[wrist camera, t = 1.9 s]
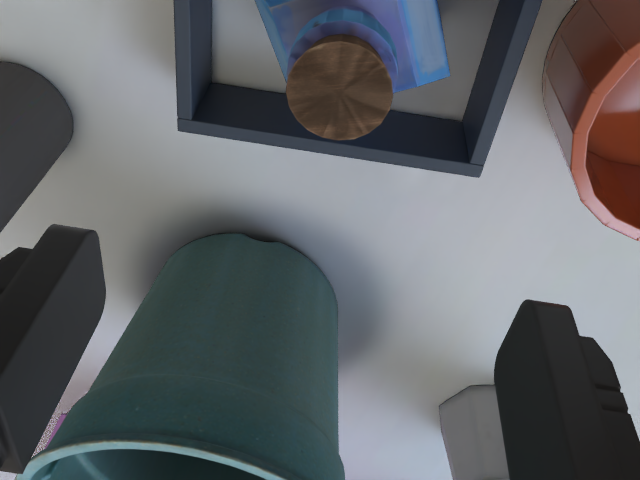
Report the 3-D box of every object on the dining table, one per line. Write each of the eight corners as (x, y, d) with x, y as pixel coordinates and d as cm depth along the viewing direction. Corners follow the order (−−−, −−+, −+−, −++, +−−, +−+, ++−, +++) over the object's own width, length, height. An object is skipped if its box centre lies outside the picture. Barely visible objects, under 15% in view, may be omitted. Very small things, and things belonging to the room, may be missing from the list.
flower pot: (150, 367, 47) (64, 592, 35) (99, 194, 37) (-48, 430, 24) (363, 382, 46) (352, 621, 34) (374, 208, 35) (364, 463, 23)
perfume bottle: (313, 53, 30) (278, 197, 21) (267, -81, 26) (200, 22, 17) (440, 17, 28) (463, 157, 19) (410, -131, 25) (420, -47, 15)
